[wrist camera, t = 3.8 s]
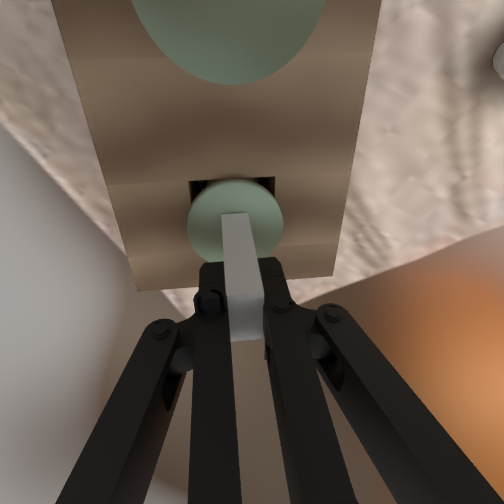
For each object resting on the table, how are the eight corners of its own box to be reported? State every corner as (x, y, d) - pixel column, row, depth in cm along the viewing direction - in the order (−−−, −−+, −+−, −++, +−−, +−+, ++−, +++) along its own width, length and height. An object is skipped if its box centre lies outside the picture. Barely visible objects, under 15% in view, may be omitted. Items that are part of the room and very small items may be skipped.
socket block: (69, -143, 16) (-24, -251, 10) (342, -136, 17) (422, -229, 11) (153, 230, 29) (137, 291, 23) (306, 221, 30) (332, 276, 24)
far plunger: (188, 140, 23) (180, 187, 17) (265, 137, 24) (285, 181, 17) (196, 209, 26) (192, 270, 20) (264, 205, 27) (281, 264, 21)
